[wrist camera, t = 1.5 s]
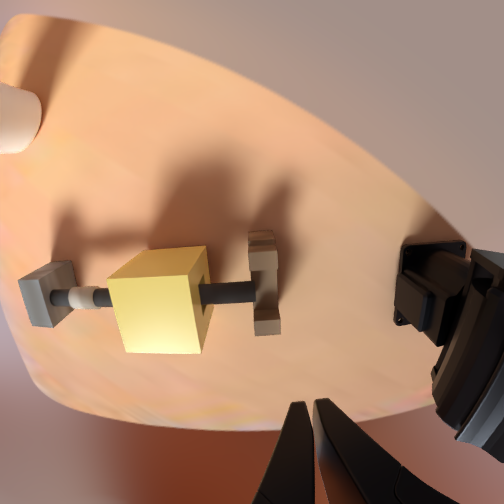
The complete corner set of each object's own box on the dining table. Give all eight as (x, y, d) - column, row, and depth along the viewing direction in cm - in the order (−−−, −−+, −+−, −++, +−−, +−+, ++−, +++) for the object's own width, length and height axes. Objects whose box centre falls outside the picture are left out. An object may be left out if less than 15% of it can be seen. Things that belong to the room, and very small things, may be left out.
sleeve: (205, 245, 19) (187, 274, 13) (213, 307, 20) (201, 353, 14) (143, 250, 19) (106, 279, 13) (154, 309, 20) (126, 352, 14)
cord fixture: (272, 230, 19) (277, 246, 14) (276, 308, 20) (281, 342, 16) (48, 250, 19) (14, 266, 15) (64, 313, 21) (36, 337, 16)
